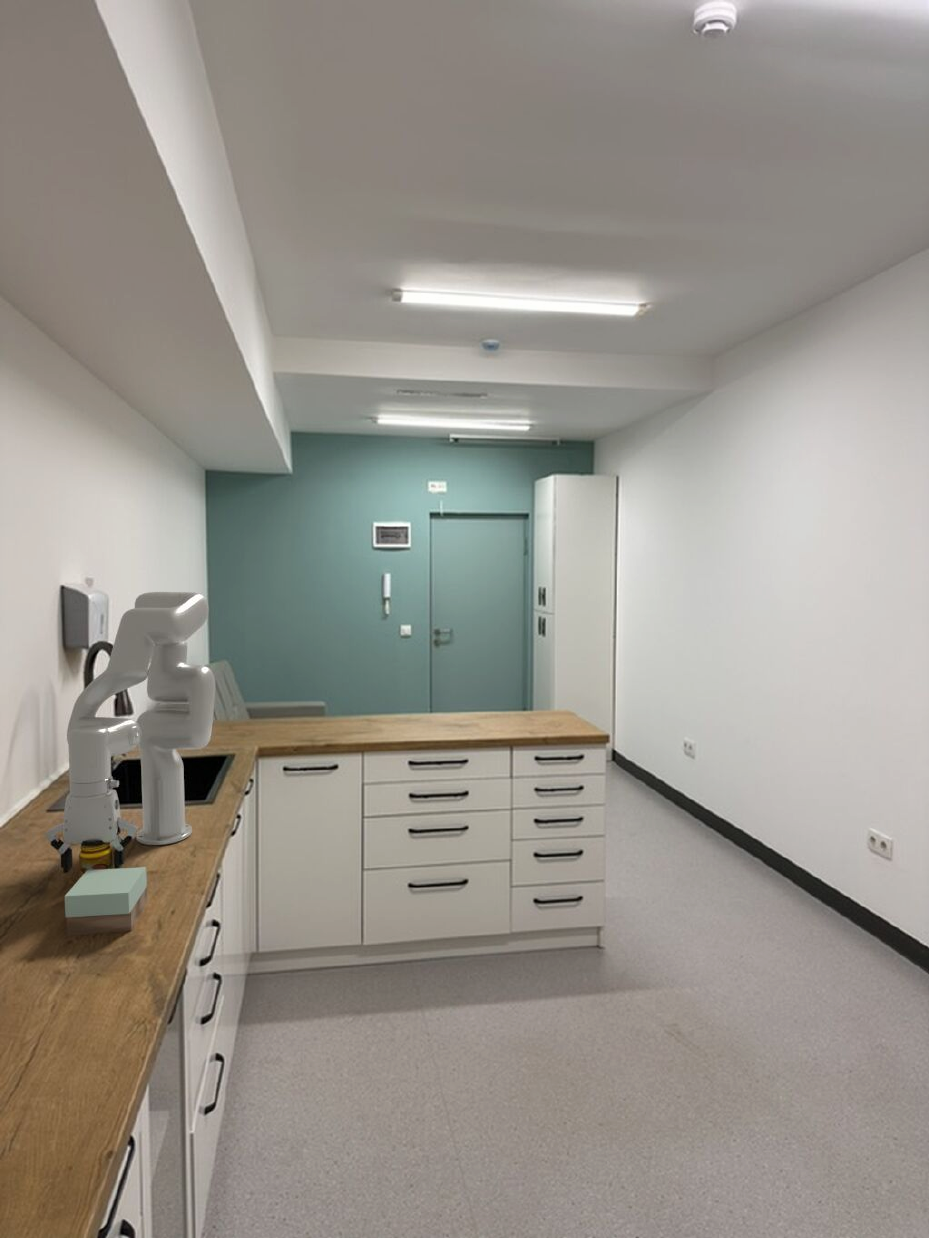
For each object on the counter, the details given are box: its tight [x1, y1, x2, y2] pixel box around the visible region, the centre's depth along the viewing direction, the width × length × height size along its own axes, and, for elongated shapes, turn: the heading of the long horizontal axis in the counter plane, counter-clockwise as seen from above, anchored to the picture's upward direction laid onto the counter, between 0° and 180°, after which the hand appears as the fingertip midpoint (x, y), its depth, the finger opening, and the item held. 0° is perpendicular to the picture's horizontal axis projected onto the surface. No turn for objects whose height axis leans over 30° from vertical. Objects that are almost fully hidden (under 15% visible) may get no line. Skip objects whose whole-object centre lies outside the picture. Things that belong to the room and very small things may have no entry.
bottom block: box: [66, 886, 148, 937], centre depth 139 cm, size 11×11×4 cm
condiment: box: [78, 840, 114, 879], centre depth 149 cm, size 7×8×12 cm
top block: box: [64, 866, 148, 918], centre depth 138 cm, size 11×11×4 cm
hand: (93, 868), depth 149 cm, fingers open, 9 cm apart
